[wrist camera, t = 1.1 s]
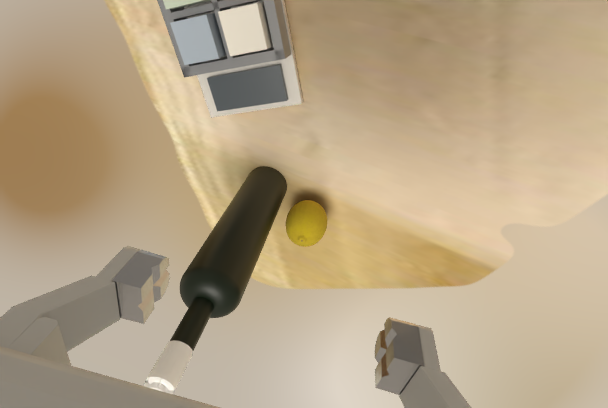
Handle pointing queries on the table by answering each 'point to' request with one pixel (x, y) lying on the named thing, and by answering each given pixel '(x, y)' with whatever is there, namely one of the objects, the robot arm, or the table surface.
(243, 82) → the keypad
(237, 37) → the key ivory
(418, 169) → the table surface
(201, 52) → the key slate
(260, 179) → the wine bottle
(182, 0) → the key sage
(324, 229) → the lemon
